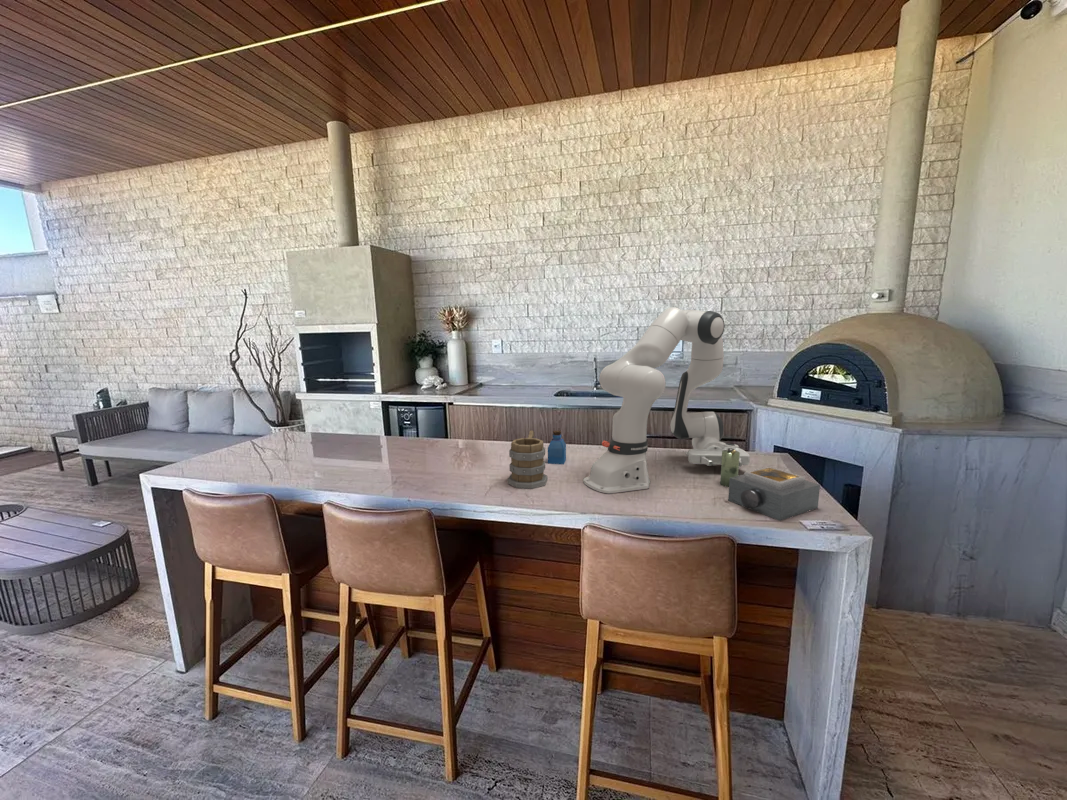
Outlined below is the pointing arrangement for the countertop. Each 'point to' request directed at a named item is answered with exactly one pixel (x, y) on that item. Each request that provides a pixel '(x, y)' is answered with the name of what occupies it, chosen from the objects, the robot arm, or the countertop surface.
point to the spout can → (729, 465)
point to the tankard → (527, 463)
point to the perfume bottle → (557, 449)
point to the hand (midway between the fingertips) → (724, 463)
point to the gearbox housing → (774, 492)
